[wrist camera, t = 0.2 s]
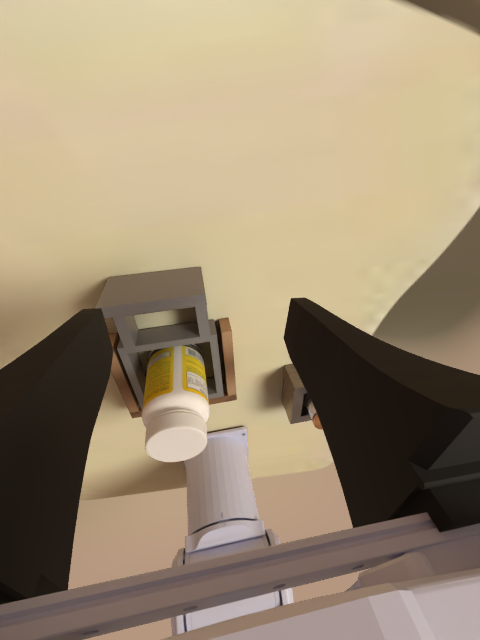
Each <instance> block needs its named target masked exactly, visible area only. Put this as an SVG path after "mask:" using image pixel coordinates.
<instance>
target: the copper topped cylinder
mask: <svg viewBox="0 0 480 640" xmlns="http://www.w3.org/2000/svg"><path fill="white" fill-rule="evenodd" d="M303 401H304V403H305V406H306V408H307V410H308V412H309V414H310V417H311V419H312V421H313V423H314V425H315V427H316V428H318V429H323V428H322V426H321V423H320V420H319V417H318V415H317V412H316V410H315V408H314V405H313V403H312V401H311V399H310V397H309V395H308V393H305V394H304V397H303Z"/></svg>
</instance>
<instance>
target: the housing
mask: <svg viewBox="0 0 480 640" xmlns="http://www.w3.org/2000/svg"><path fill="white" fill-rule="evenodd" d="M219 326H220V335H221V345H222V354H223V364H224V373H225V382H222V384H223V393H224V396H223V397H218V398H212V399H208V400H209V405H210V404H216V403H221V402H227V401H233V400H237V397H236V383H235V370H234V356H233V342H232V330H231V326H230V322H229V319H228V318H224V319H219ZM109 337H110V341H111V344H112V348H113V351H114V352H113V359H112V366H111V372H112V374H113V377H114V379H115V381H116V383H117V386H118V388H119V390H120V392H121V394H122V397H123V399H124V401H125V403H126V405H127V408H128V410H129V412H130V414H131V417H132V418H136V417H142V409H141V407H140V404H139V402H138V399H137V397H136V395H135V392H134V390H133V387H132V385H131V382H130V380H129V377H128V375H127V372H126V370H125V367H124V365H123V363H122V360H121V358H120V355H119V353H118V350H117V347H118V343H119V338H118V335H117V333H115V334H109Z"/></svg>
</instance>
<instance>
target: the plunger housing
mask: <svg viewBox="0 0 480 640" xmlns="http://www.w3.org/2000/svg"><path fill="white" fill-rule="evenodd" d="M305 393H307V391H306V389H305V387H304V385H303V383H302V381H301V379H300V377H299V375H298V373H297V371H296V369H295V367H294V365H293V364H291V365H285V367H284V380H283V392H282V403H283V405H284V408H285V411H286V413H287V416H288V419H289V421H290V424H294V423H299V422H304V421H309V420H312V419H311V417H310V414H309V412H308V410H307V408H306V406H305V403H304V401H303V397H304V394H305Z"/></svg>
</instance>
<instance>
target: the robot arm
mask: <svg viewBox="0 0 480 640" xmlns="http://www.w3.org/2000/svg"><path fill="white" fill-rule="evenodd" d="M284 340H285V344H286V347H287V350H288V353H289V356H290V359H291V361H292V363H293V365H294V367H295V369H296V371H297V373H298V375H299V377H300V379H301V381H302V383H303V385H304V387H305V389H306V391H307V393H308V395H309V397H310V399H311V401H312V403H313V405H314V408H315V410H316V412H317V415H318V417H319V420H320V423H321V426H322V428H323V431H324V434H325V436H326V439H327V442H328V445H329V448H330V451H331V454H332V457H333V460H334V463H335V466H336V469H337V473H338V476H339V479H340V482H341V486H342V489H343V493H344V496H345V500H346V503H347V507H348V510H349V514H350V517H351V521H352V525H353V528H352V529H348V530H342V531H338V532H333V533H328V534H324V535H319V536H315V537H310V538H306V539H301V540H296V541H292V542H287V543H282V544H281V542H280V539H279V538H278V536H277V535H276V534H275V533H274V532H273V531H272V530H271V529H266V530H265V528H264V524H263V520H260V519H259V515H258V510H257V505H256V500H255V495H254V491H253V486H252V480H251V476H250V471H249V463H248V440H247V428H246V427H239V428H233V429H228V430H223V431H218V432H212V433H207V444H206V447H205V448H204V450H203V451H202V452H201V453H199V454H198V455H196V456H195V457H193V458H190V459H187V460H184V464H185V467H186V471H187V510H188V536H186V537H185V548H182V549H179V550H178V553H177V555H176V556H175V558H174V560H173V563H172V568H167V569H162V570H158V571H154V572H149V573H144V574H139V575H135V576H130V577H126V578H121V579H116V580H112V581H107V582H103V583H98V584H93V585H89V586H84V587H80V588H76V589H70V590H68V582H69V573H70V564H71V557H72V548H73V540H74V533H75V526H76V519H77V512H78V506H79V499H80V493H81V487H82V482H83V476H84V470H85V465H86V460H87V454H88V449H89V444H90V440H91V436H92V432H93V429H94V425H95V422H96V419H97V416H98V412H99V409H100V406H101V403H102V400H103V396H104V393H105V390H106V387H107V383H108V380H109V376H110V372H111V366H112V359H113V352H114V351H113V348H112V344H111V341H110V337H109V334H108V330H107V326H106V323H105V319H104V316H103V312H102V309H101V308H98V309H83V310H81V311H80V312H78V313H77V314H76V315H74V316H73V317H72V318H70V319H69V320H68V321H67V322H65V323H64V324H63V325H61V326H60V327H59V328H58V329H56V330H55V331H54V332H52V333H51V334H50V335H49V336H47V337H46V338H45V339H43V340H42V341H41V342H39V343H38V344H37V345H35V346H34V347H32V348H31V349H30V350H28V351H27V352H25V353H24V354H22V355H21V356H20V357H18V358H17V359H15V360H14V361H13V362H11V363H10V364H8V365H6V366H5V367H3V368H2V369H0V640H83V639H87V638H91V637H95V636H99V635H103V634H107V633H111V632H115V631H119V630H123V629H127V628H131V627H135V626H139V625H143V624H147V623H151V622H155V621H159V620H163V619H167V618H171V626H172V635H173V636H171V637H168V638H165V639H162V640H480V375H477V374H473V373H469V372H466V371H463V370H459V369H456V368H453V367H449V366H446V365H443V364H440V363H437V362H434V361H431V360H428V359H425V358H422V357H420V356H417V355H415V354H412V353H409V352H407V351H404V350H402V349H399V348H397V347H395V346H392V345H390V344H388V343H386V342H384V341H381V340H379V339H377V338H375V337H373V336H371V335H369V334H367V333H366V332H364V331H362V330H360V329H358V328H356V327H354V326H353V325H351V324H349V323H347V322H346V321H344V320H342V319H341V318H339V317H337V316H336V315H334V314H332V313H331V312H329V311H328V310H326V309H324V308H323V307H321V306H319V305H318V304H316V303H314V302H312V301H311V300H309V299H307V298H291V301H290V306H289V312H288V317H287V323H286V328H285V334H284ZM369 568H371V569H369ZM365 569H368V570H366V571H363V572H361V573H359V577H358V580H357V581H356V582H355V583H354V585H352V586H351V587H350V588H349V589H347V590H346V591H344V592H341V593H336V594H331V595H326V596H321V597H317V598H312V599H308V600H304V601H300V602H295V603H294V601H293V594H292V587H296V586H300V585H304V584H309V583H313V582H316V581H321V580H324V579H328V578H333V577H337V576H341V575H345V574H349V573H352V572H357V571H361V570H365Z"/></svg>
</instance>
